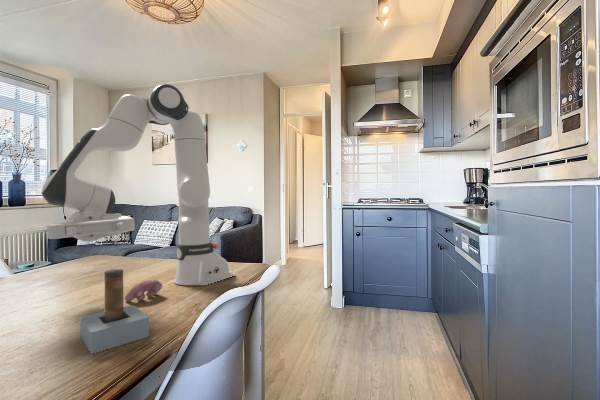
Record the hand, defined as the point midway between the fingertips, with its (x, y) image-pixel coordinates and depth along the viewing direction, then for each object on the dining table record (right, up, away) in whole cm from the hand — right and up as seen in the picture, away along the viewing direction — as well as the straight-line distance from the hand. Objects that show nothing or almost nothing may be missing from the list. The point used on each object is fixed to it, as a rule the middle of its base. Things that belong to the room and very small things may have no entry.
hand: (99, 229), depth 80 cm
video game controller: (+4, -24, +15) cm, 28 cm away
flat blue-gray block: (+10, -24, -11) cm, 28 cm away
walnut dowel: (+10, -24, -11) cm, 28 cm away
